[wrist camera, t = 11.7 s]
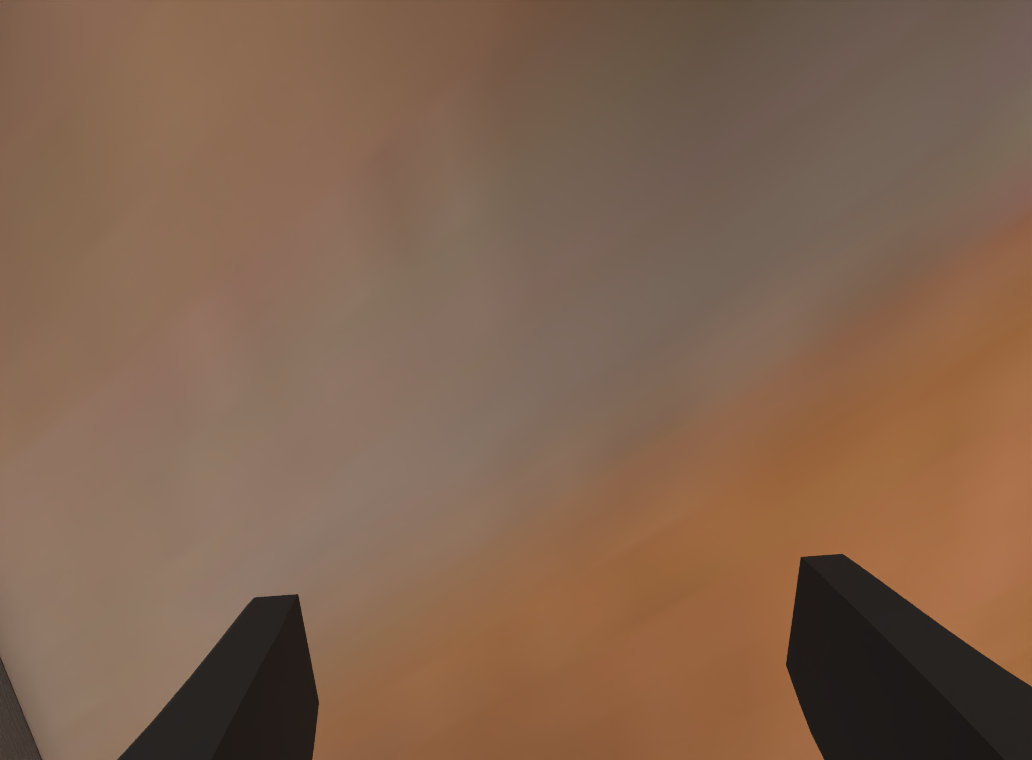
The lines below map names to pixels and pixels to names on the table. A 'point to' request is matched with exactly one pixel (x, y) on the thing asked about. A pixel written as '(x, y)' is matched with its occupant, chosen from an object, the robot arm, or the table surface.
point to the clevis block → (13, 726)
